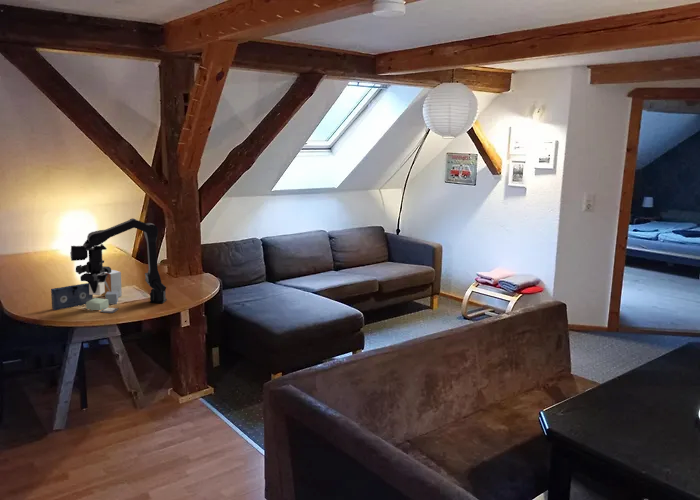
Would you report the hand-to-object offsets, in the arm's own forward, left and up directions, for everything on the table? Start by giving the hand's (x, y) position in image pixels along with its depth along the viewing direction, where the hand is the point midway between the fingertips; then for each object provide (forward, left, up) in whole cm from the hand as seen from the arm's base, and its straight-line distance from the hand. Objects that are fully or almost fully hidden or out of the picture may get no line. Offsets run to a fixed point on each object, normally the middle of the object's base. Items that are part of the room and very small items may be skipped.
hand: (97, 291), depth 259 cm
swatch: (-7, +3, -8) cm, 11 cm away
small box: (+3, -20, -9) cm, 22 cm away
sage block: (0, 0, -9) cm, 9 cm away
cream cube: (0, 0, -1) cm, 1 cm away
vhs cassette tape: (+13, -1, -9) cm, 15 cm away
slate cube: (-2, -10, -9) cm, 13 cm away
